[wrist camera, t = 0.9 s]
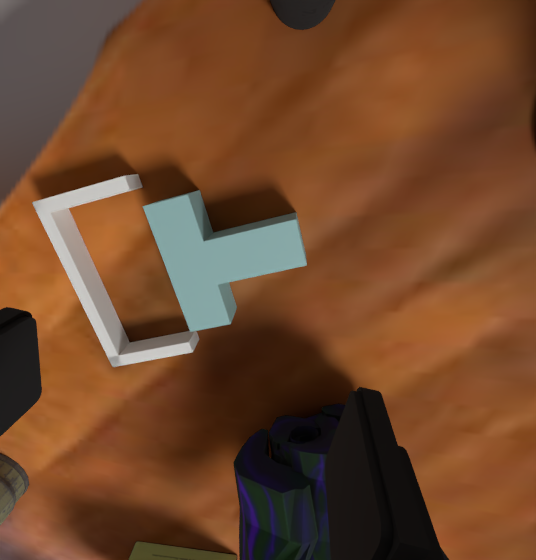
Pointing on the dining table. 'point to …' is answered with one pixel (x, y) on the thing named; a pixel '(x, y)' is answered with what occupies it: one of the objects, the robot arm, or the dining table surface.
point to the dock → (89, 281)
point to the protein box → (174, 553)
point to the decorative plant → (286, 489)
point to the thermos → (10, 485)
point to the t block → (218, 255)
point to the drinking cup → (302, 12)
